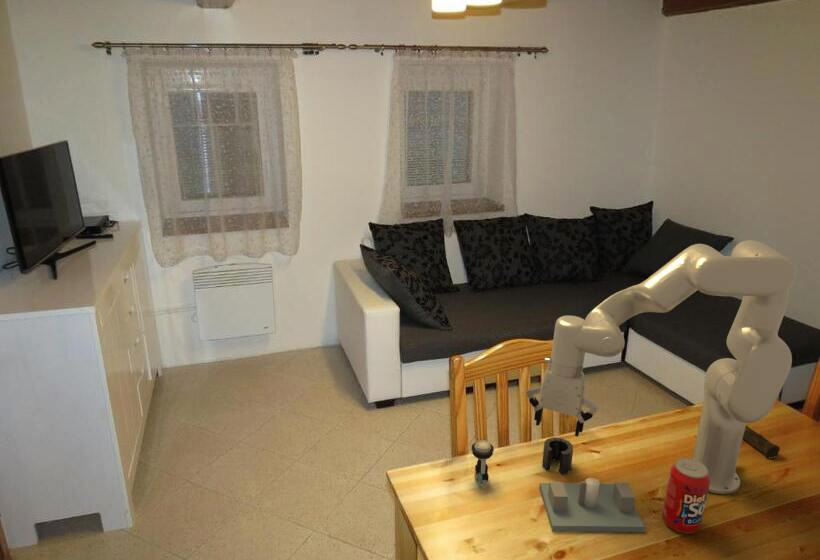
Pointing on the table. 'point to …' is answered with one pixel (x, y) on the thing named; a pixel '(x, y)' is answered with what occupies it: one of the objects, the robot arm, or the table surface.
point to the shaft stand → (591, 507)
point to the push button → (482, 460)
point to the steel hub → (558, 454)
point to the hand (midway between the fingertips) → (557, 428)
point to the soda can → (686, 495)
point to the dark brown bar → (760, 443)
